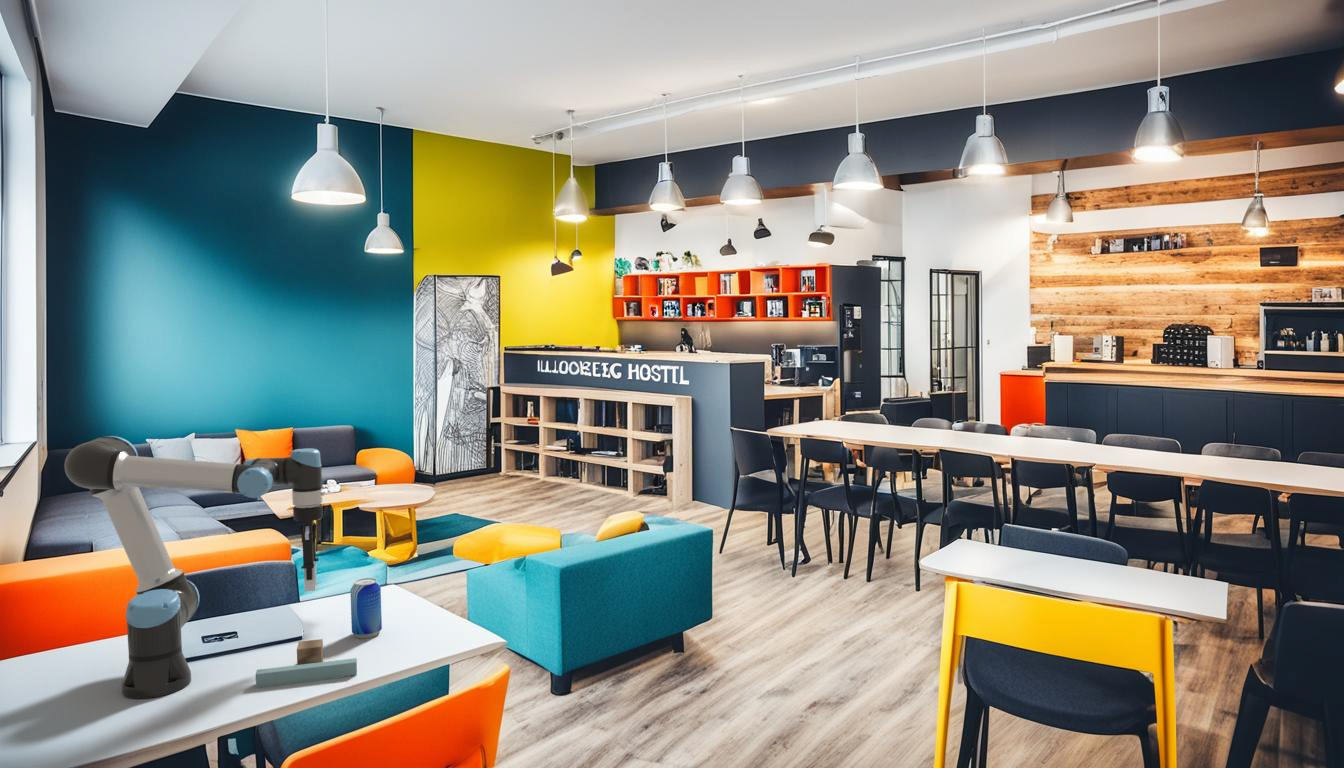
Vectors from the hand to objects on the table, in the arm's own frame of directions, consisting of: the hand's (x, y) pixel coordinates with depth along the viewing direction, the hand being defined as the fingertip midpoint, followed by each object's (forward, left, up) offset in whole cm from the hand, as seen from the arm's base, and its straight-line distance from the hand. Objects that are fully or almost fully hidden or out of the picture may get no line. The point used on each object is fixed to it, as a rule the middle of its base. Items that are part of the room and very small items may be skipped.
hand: (310, 587), depth 243 cm
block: (0, -9, -19) cm, 21 cm away
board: (0, -18, -19) cm, 26 cm away
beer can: (+14, +11, -19) cm, 26 cm away
